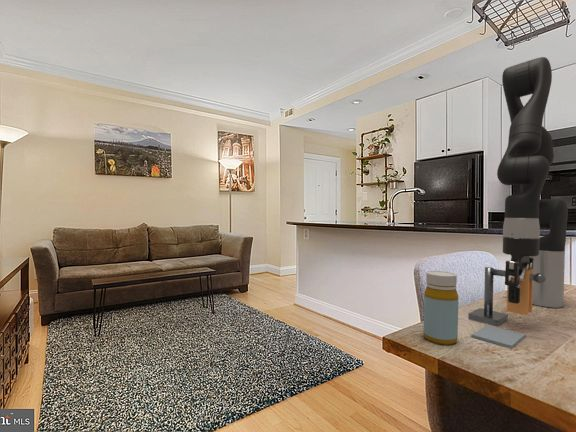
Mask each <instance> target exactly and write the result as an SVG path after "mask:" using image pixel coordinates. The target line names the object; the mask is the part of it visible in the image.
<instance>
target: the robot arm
mask: <svg viewBox="0 0 576 432" xmlns="http://www.w3.org/2000/svg"><path fill="white" fill-rule="evenodd" d="M552 77H553V72H552V66H551V63H550V60H549V59H548V58H547V57H545V56H541V57H536V58H532V59H531V60H526V61H523V62H520V63H517V64H514V65H511V66H509V67H506V68H504V69H503V72H502V77H501V80H502V89H503V93H504V97H505V101H506V107H507V110H508V115H509V120H510V127H509V132H508V144H507V148H506V150H505V152H504V155H503V156H502V158H501V161H500V162H499V163H498V166H497V170H496V171H497V172H496V176H497V179H498V181H499V183H500V184H502V185H505V186H519V185H520V193H515V194H510V195H508V196H506V198H505V199H504V200H505V201H504V221H503V224H502V225H503V226H502V229H503V230H502V253H503V254H504V255H510V260H506V261H505V277H504V285H505V286H506V287H507V286H508V287H509V291H508V301H509V302H511V303H516V304H518V303H519V302H520V287H521V282H522V281H524V279H525V275H526V270H528V269H533V274H537V273H541V274H543V275H545V277H546V281H545V282H544V283H537V282H536V281H533V296H532V305H535V306H539V307H546V308H555V309H559V308H564V306H565V305H564V302H565V301H564V299H565V270H566V269H565V266H566V260H565V259H566V240H567V226H568V225H567V224H568V215H569V210H568V209H569V208H568V204H567V202H566V201H565V199H562V198H561V199H560V198H552V199H551V198H546V199H545V198H544V199H543V198H541V195H542V193H543V188H544V185H545V183H546V181H547V178H548V176H549V172H550V167H551V165H552V163H553V161H554V158H555V155H554V144H553V138H552V135H551V133H550V132H549V131H548V130H547V129H546V128H545V127H544V126H543V121H544V120H543V119H544V115H545V111H546V107H547V104H548V100H549V95H550V90H551V85H552ZM530 95H531V96H530ZM526 96H530V98H529V99H528V101H527V102H526V103H525V104H523V102H522V100H521V98H523V97H526ZM540 229H549V232H548V233H547V234H545V235H544V236H541V234H540V233H541V231H540ZM540 236H541V237H540ZM512 280H515V281H512Z"/></svg>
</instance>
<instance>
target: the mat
mask: <svg viewBox="0 0 576 432" xmlns="http://www.w3.org/2000/svg"><path fill="white" fill-rule="evenodd" d="M470 336H471V338H472V339H473V338H474V339H478V340H480V341H483V342H487V343H491V344H494V345H497V346H501V347H505V348H508V349H513V348H514V347H515V346H517V345H518V344H519V343H521V342H522V340H524V339H525V338H526V334H525V333H521V332H517V331H512V330H509V329H505V328H501V327H498V326H494V325H490V324H487V325H484V326H483V327H481V328H480V329H478V330H476V331H475V332H473V333H471V335H470Z"/></svg>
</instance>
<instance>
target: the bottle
mask: <svg viewBox="0 0 576 432" xmlns="http://www.w3.org/2000/svg"><path fill="white" fill-rule="evenodd" d="M457 278H458V276H457V274H456V273H454V272H449V271H445V270H444V271H442V270H428V271H427V272H426V279H425V280H426V284H425V285H426V286H425V289H424V292H423V326H422V327H423V328H422V329H423V336H424V337H425V339H426V340H427V341H428V342H430V343H434V344H438V345H444V346H446V345H447V346H449V345H453V344H455V343H456V342H457V341H458V336H459V335H458V334H459V333H458V331H459V330H458V329H459V327H458V326H459V294H458V291H457V284H458V283H457Z"/></svg>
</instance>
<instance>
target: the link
mask: <svg viewBox="0 0 576 432" xmlns="http://www.w3.org/2000/svg"><path fill="white" fill-rule="evenodd" d="M530 274H533V269H528V270H526V275H525V279H524V281H522V282H521V287H520V302H519V303H518V304H516V303H511V302H509V301H508V291H509V287H508V286H507V285H506V289H507V291H506V312H509V313H513V314H519V315H523V316H529V313H530V314H532V313H533V304H532V296H533V281H532V280H529V275H530ZM512 281H515V280H512Z"/></svg>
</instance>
